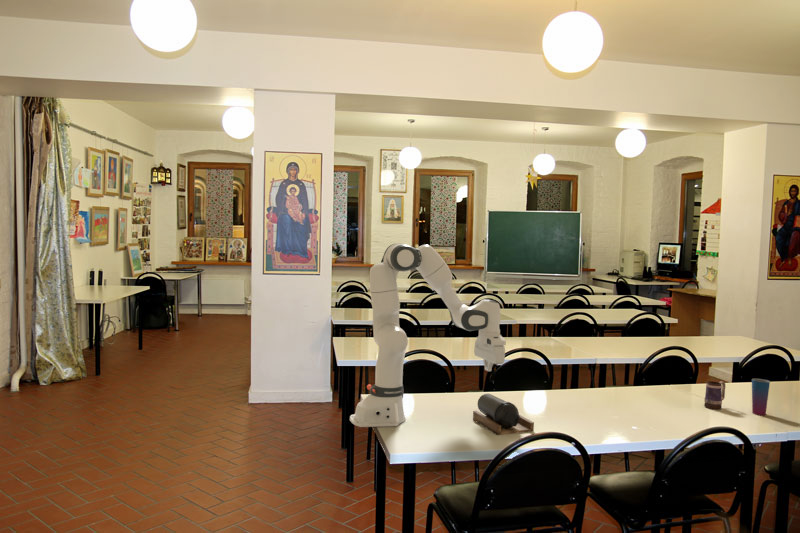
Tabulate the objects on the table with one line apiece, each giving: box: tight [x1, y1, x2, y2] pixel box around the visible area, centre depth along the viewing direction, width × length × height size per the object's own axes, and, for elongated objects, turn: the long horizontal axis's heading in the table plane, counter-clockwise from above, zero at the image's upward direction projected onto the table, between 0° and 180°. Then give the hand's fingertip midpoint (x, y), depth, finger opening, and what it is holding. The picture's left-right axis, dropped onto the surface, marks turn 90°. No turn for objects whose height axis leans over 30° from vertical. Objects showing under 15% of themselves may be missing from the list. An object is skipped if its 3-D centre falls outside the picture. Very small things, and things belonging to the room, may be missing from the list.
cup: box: [751, 378, 771, 416], centre depth 254 cm, size 7×7×15 cm
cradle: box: [472, 410, 535, 436], centre depth 228 cm, size 16×20×4 cm
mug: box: [704, 380, 726, 411], centre depth 263 cm, size 10×7×12 cm
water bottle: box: [477, 393, 520, 429], centre depth 229 cm, size 10×10×23 cm
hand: (488, 370), depth 240 cm, fingers closed
